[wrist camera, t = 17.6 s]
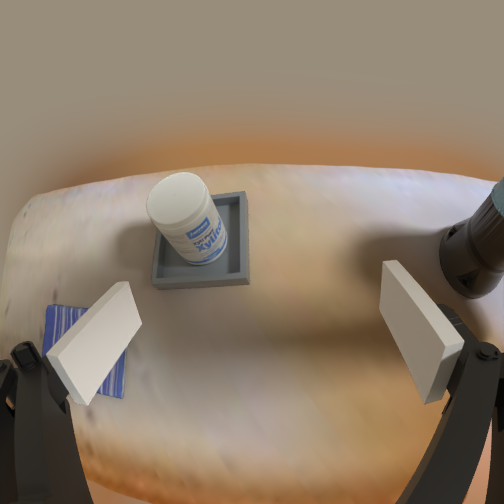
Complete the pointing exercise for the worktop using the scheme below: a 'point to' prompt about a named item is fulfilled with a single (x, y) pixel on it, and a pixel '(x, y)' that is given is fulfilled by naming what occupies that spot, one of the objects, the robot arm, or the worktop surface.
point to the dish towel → (62, 321)
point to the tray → (219, 271)
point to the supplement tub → (187, 218)
